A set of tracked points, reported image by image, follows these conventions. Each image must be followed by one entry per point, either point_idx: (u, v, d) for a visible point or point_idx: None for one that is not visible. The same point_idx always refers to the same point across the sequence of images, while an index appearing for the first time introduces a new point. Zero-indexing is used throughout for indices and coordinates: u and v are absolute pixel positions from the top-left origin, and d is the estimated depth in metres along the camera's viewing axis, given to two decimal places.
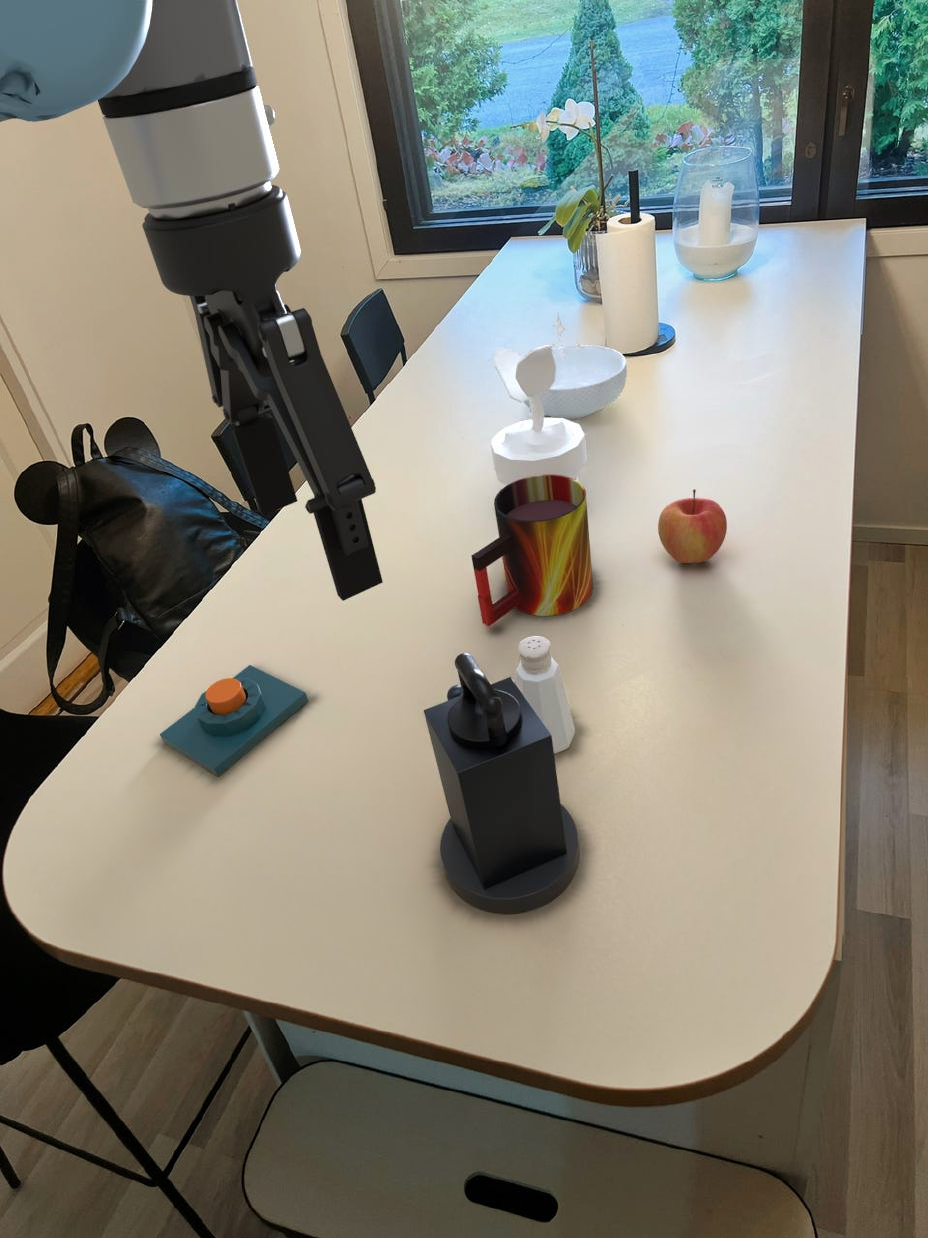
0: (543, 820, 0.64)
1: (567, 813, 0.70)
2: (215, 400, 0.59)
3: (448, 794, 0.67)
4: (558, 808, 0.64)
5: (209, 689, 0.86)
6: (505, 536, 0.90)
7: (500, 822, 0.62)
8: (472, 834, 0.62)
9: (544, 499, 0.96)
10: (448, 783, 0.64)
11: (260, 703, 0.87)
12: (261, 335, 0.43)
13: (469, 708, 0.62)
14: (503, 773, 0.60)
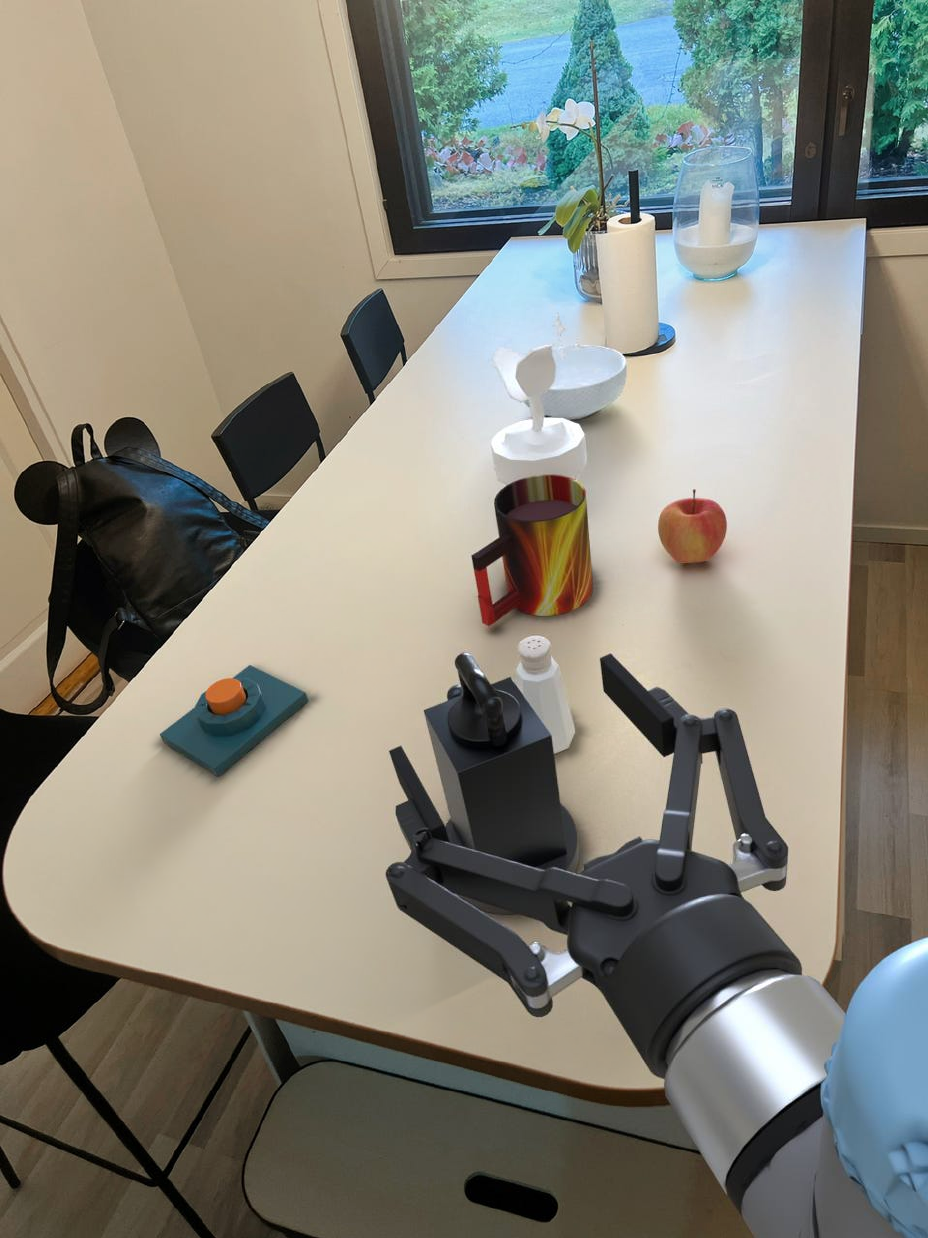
0: (543, 820, 0.64)
1: (567, 813, 0.70)
2: (721, 717, 0.46)
3: (448, 794, 0.67)
4: (558, 808, 0.64)
5: (209, 689, 0.86)
6: (505, 536, 0.90)
7: (500, 822, 0.62)
8: (472, 834, 0.62)
9: (544, 499, 0.96)
10: (448, 783, 0.64)
11: (260, 703, 0.87)
12: (528, 976, 0.37)
13: (469, 708, 0.62)
14: (503, 773, 0.60)
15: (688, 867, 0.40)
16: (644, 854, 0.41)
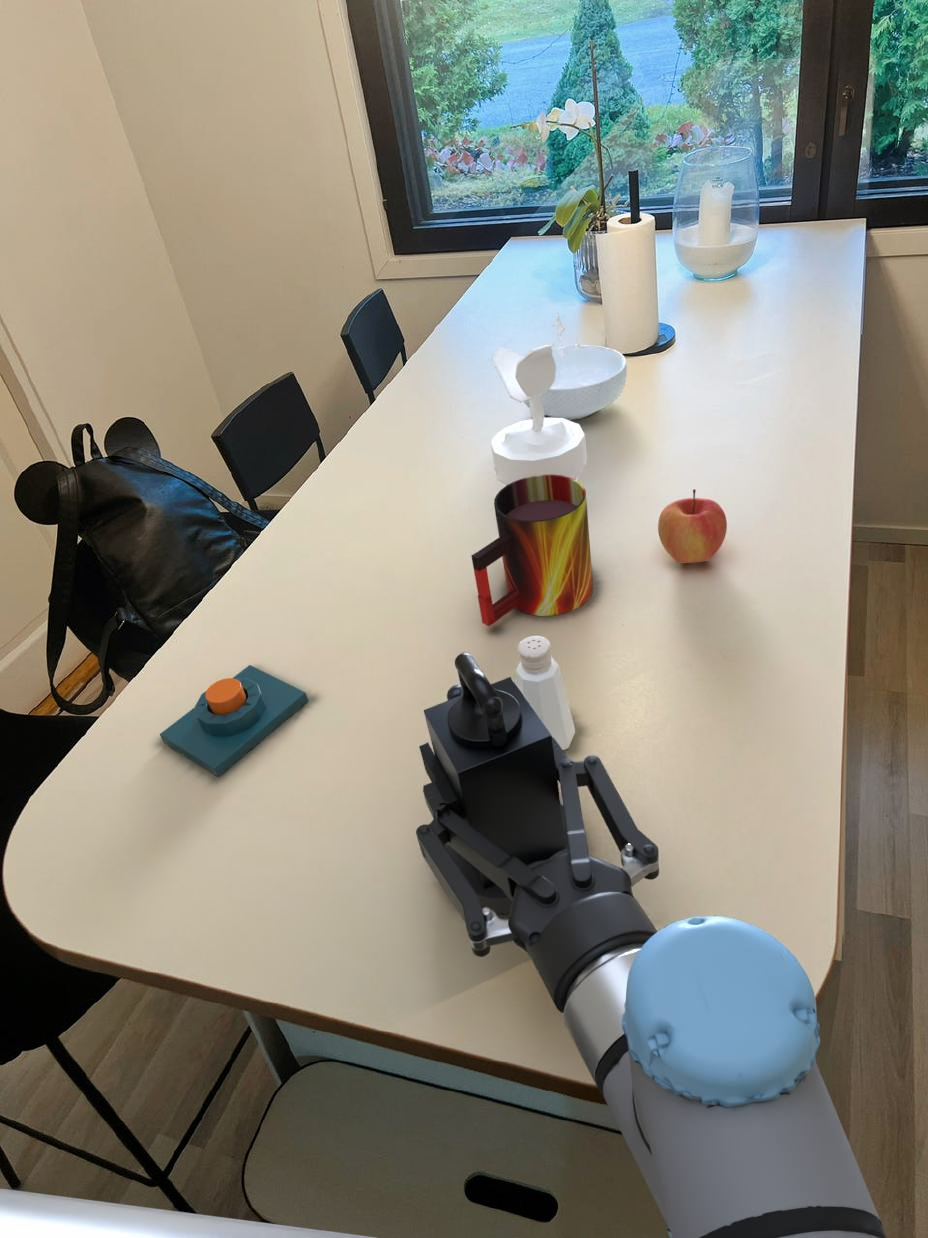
0: (543, 820, 0.64)
1: None
2: (589, 762, 0.63)
3: None
4: (558, 808, 0.64)
5: (209, 689, 0.86)
6: (505, 536, 0.90)
7: (500, 822, 0.62)
8: None
9: (544, 499, 0.96)
10: None
11: (260, 703, 0.87)
12: (473, 926, 0.54)
13: (469, 708, 0.62)
14: (503, 773, 0.60)
15: (597, 872, 0.56)
16: (568, 861, 0.57)
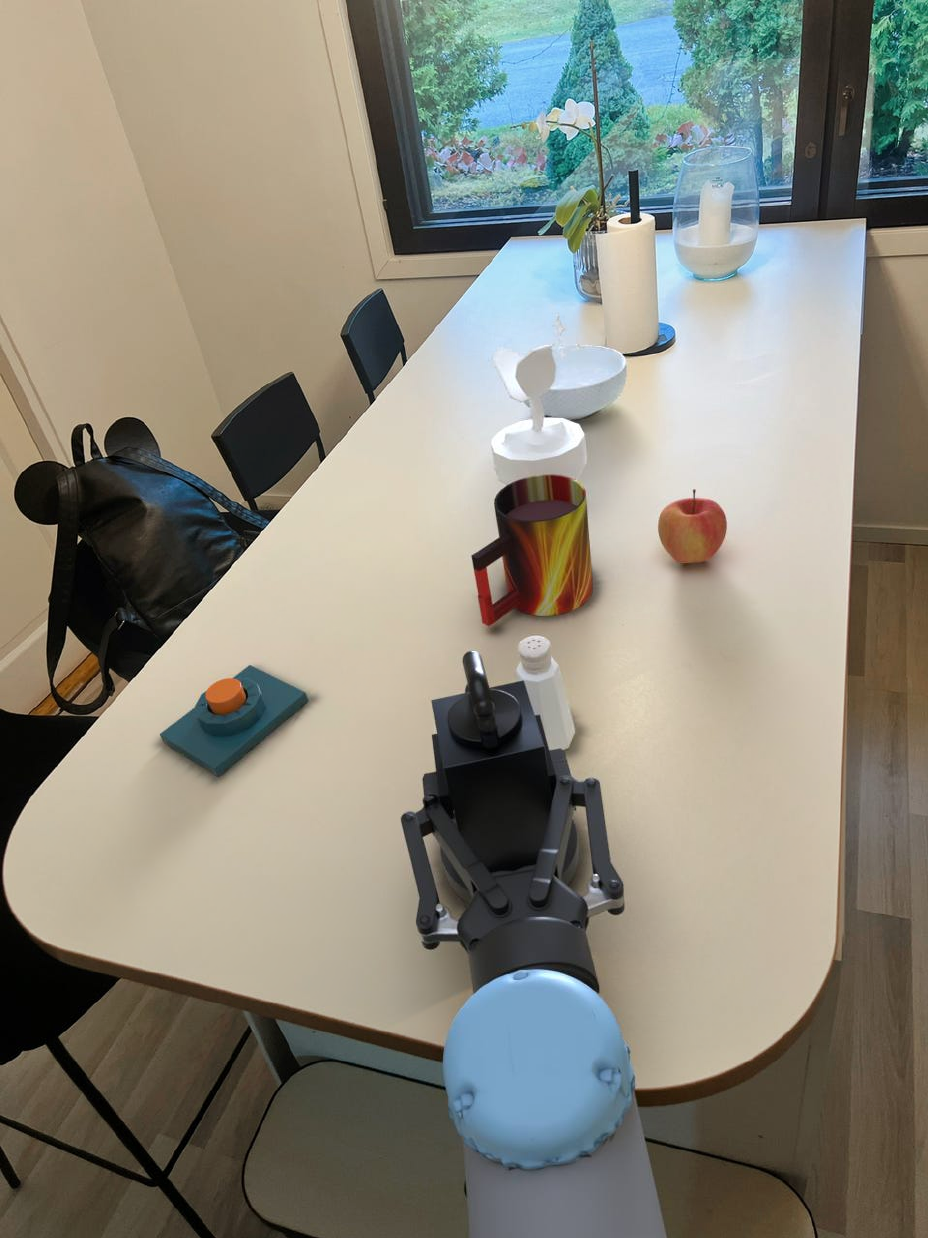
0: (534, 828, 0.64)
1: None
2: (588, 784, 0.63)
3: None
4: None
5: (209, 689, 0.86)
6: (505, 536, 0.90)
7: (488, 823, 0.63)
8: (459, 829, 0.63)
9: (544, 499, 0.96)
10: None
11: (260, 703, 0.87)
12: (421, 919, 0.56)
13: (471, 705, 0.62)
14: (492, 775, 0.60)
15: (556, 895, 0.56)
16: (532, 877, 0.57)
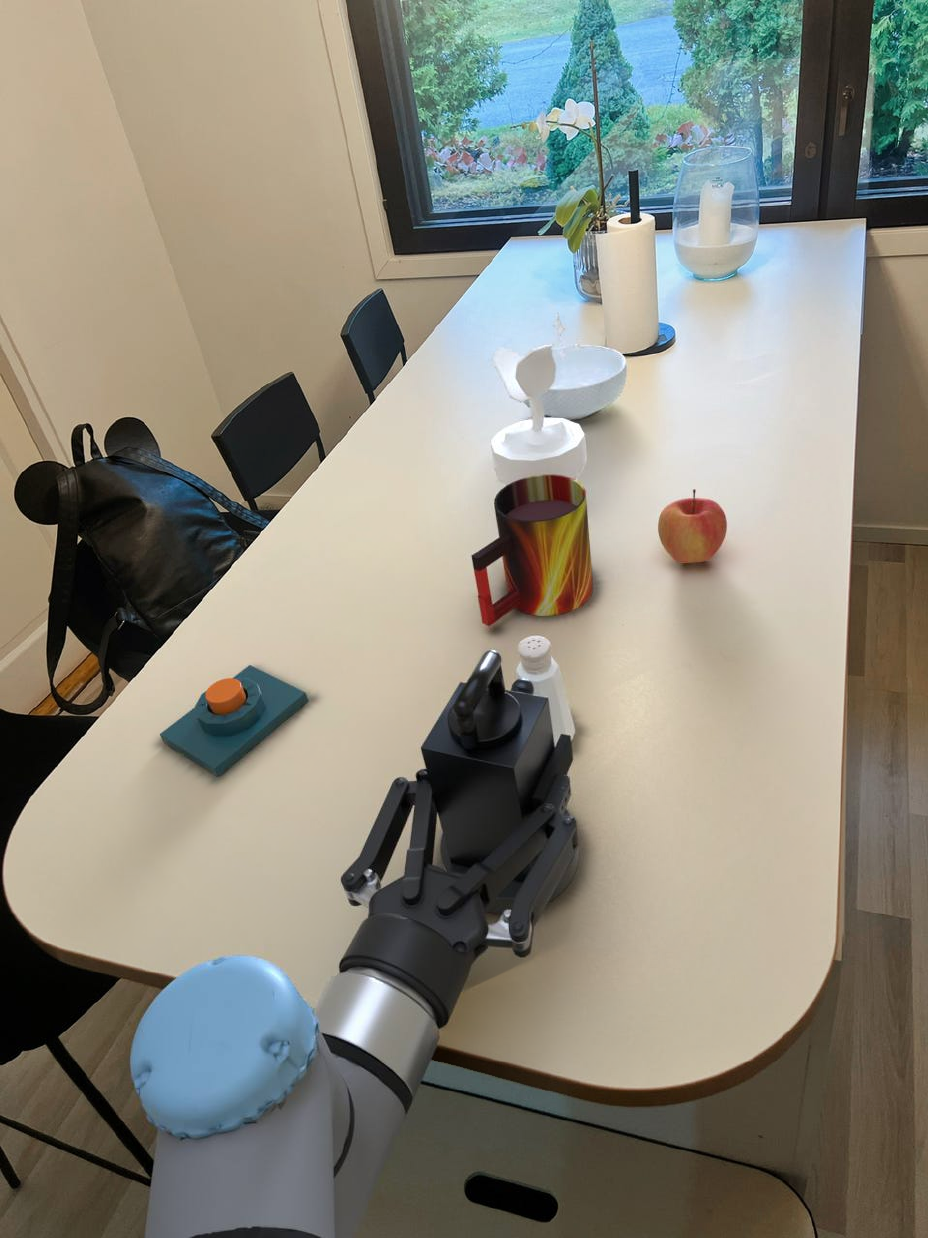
0: None
1: (567, 813, 0.70)
2: (563, 822, 0.60)
3: None
4: None
5: (209, 689, 0.86)
6: (505, 536, 0.90)
7: (463, 815, 0.63)
8: (437, 808, 0.64)
9: (544, 499, 0.96)
10: None
11: (260, 703, 0.87)
12: (346, 876, 0.59)
13: (480, 701, 0.62)
14: (464, 773, 0.60)
15: (464, 911, 0.56)
16: None
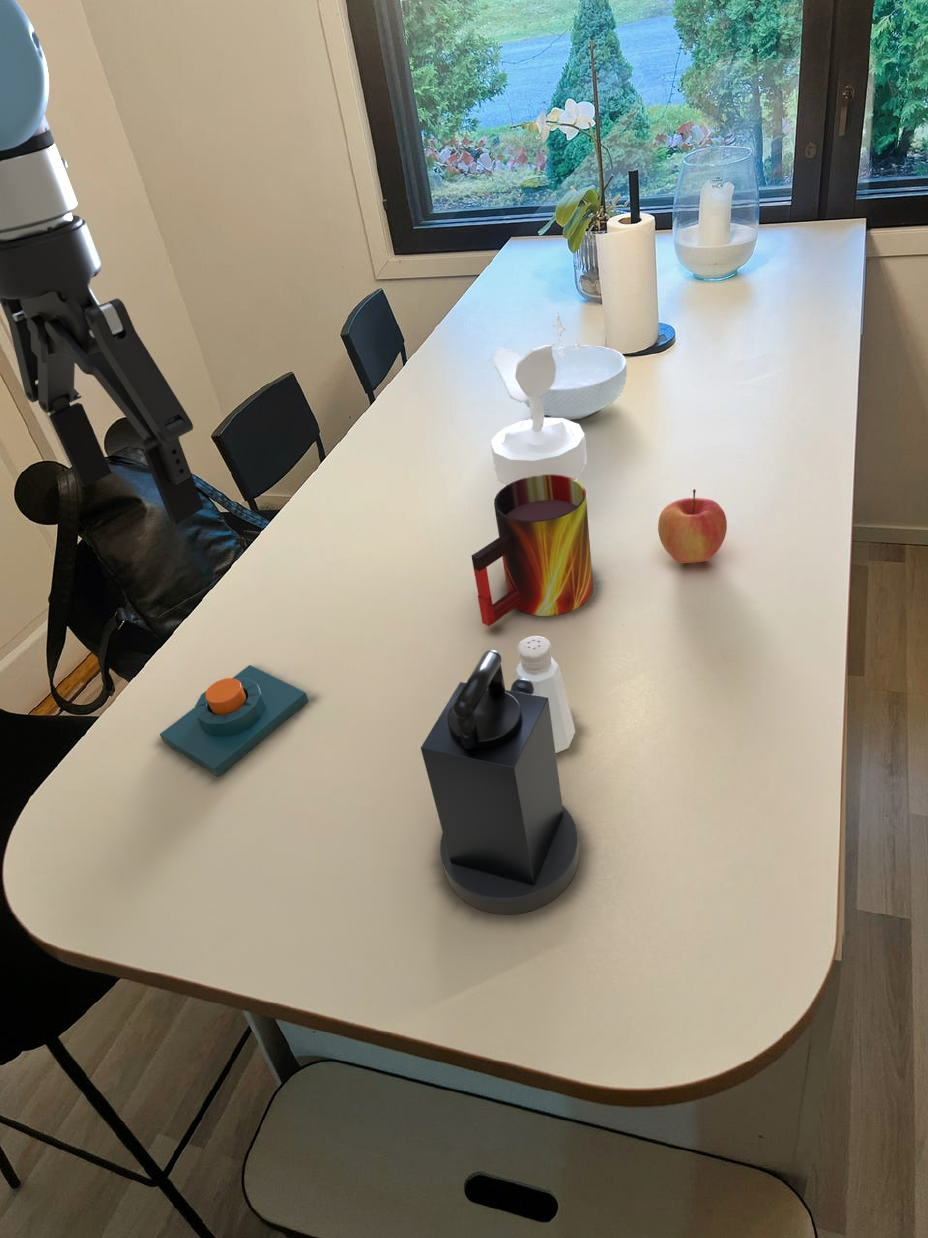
0: (507, 839, 0.63)
1: (567, 813, 0.70)
2: (29, 396, 0.72)
3: None
4: (523, 839, 0.62)
5: (209, 689, 0.86)
6: (505, 536, 0.90)
7: (463, 815, 0.63)
8: (437, 808, 0.64)
9: (544, 499, 0.96)
10: None
11: (260, 703, 0.87)
12: (89, 319, 0.58)
13: (480, 701, 0.62)
14: (464, 773, 0.60)
15: None
16: (54, 346, 0.64)
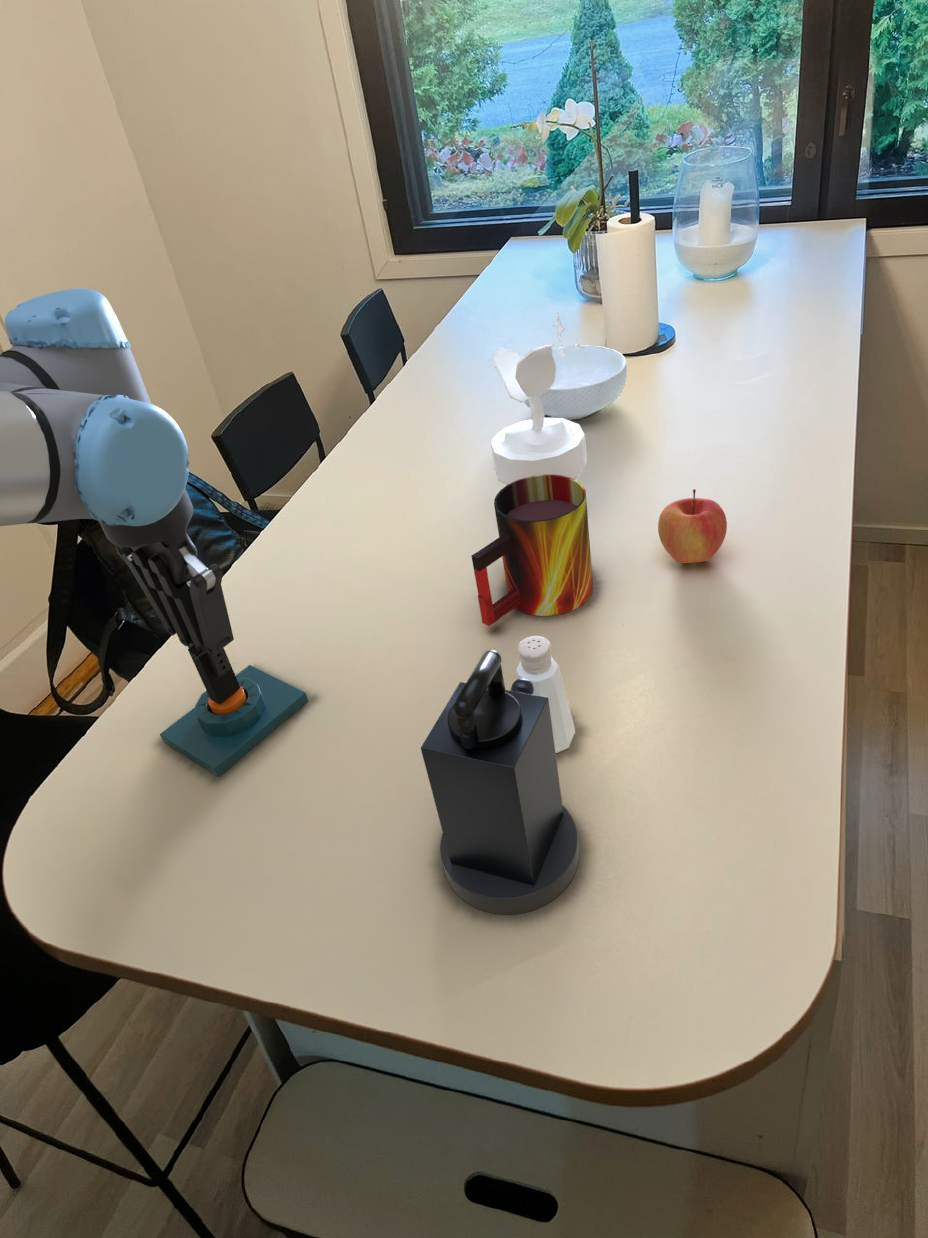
0: (507, 839, 0.63)
1: (567, 813, 0.70)
2: (169, 630, 0.83)
3: None
4: (523, 839, 0.62)
5: None
6: (505, 536, 0.90)
7: (463, 815, 0.63)
8: (437, 808, 0.64)
9: (544, 499, 0.96)
10: None
11: (260, 703, 0.87)
12: (195, 586, 0.73)
13: (480, 701, 0.62)
14: (464, 773, 0.60)
15: None
16: None
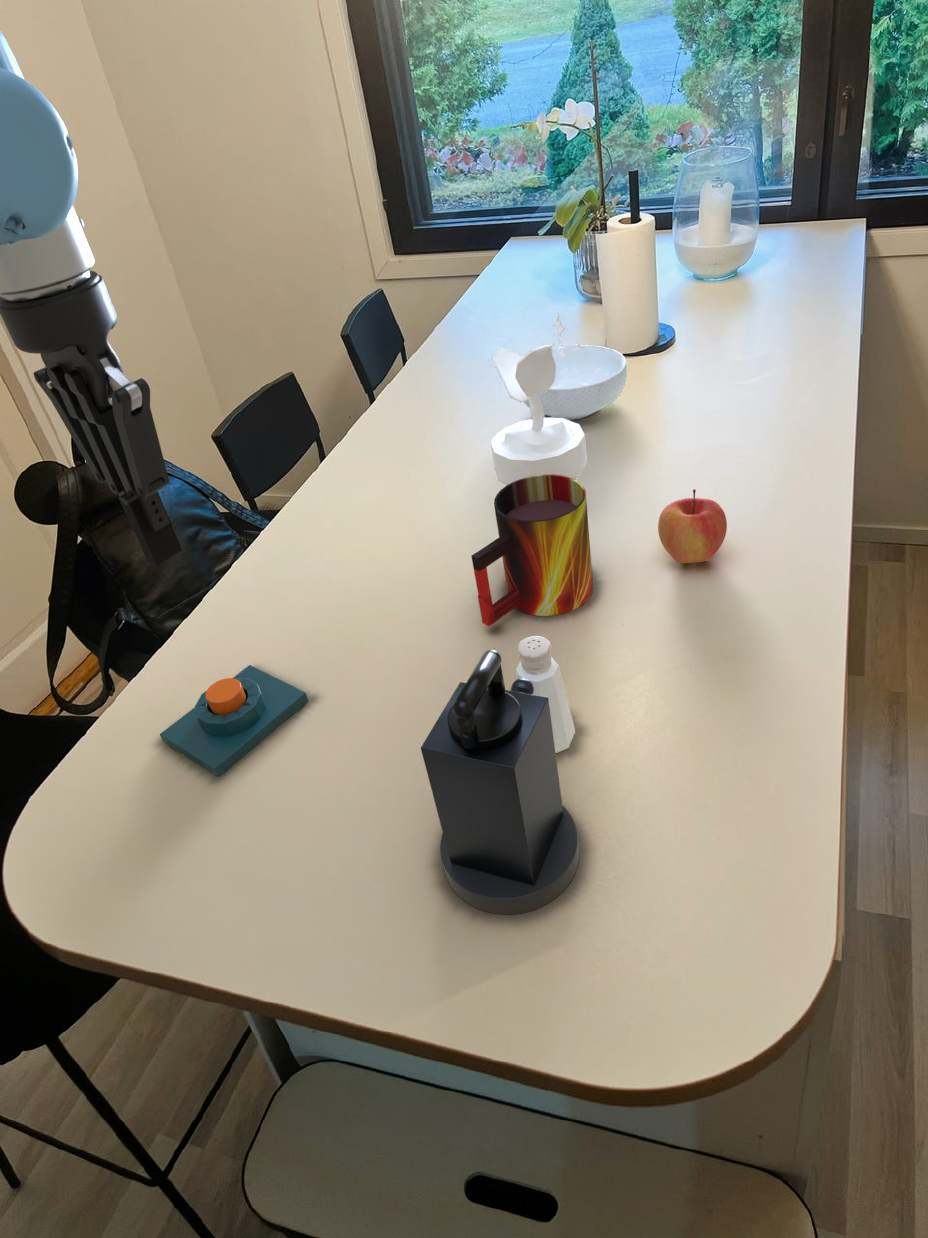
0: (507, 839, 0.63)
1: (567, 813, 0.70)
2: (97, 475, 0.73)
3: None
4: (523, 839, 0.62)
5: (209, 689, 0.86)
6: (505, 536, 0.90)
7: (463, 815, 0.63)
8: (437, 808, 0.64)
9: (544, 499, 0.96)
10: None
11: (260, 703, 0.87)
12: (117, 401, 0.63)
13: (480, 701, 0.62)
14: (464, 773, 0.60)
15: None
16: None
